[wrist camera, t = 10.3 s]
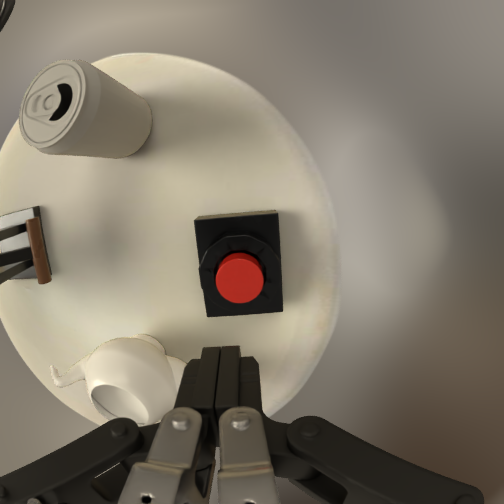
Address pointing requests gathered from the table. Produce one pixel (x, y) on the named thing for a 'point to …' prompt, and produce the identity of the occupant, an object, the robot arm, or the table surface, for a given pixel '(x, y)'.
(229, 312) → the control block
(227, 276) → the button
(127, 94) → the beverage can
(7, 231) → the bracket
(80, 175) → the table surface
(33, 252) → the lever
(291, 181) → the table surface
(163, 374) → the teapot
